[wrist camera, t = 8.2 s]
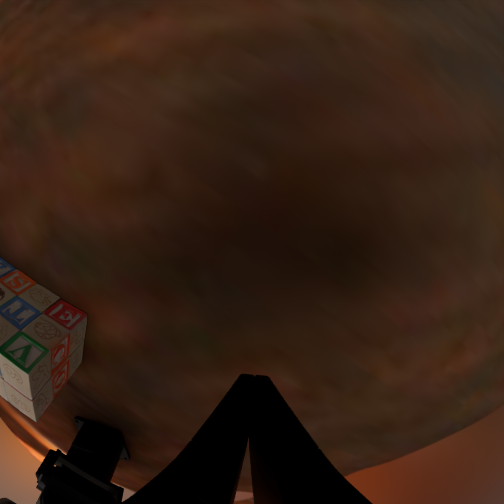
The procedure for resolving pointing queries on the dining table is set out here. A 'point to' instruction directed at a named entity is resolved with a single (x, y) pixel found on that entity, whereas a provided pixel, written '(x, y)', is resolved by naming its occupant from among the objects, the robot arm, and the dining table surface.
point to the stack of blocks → (36, 342)
